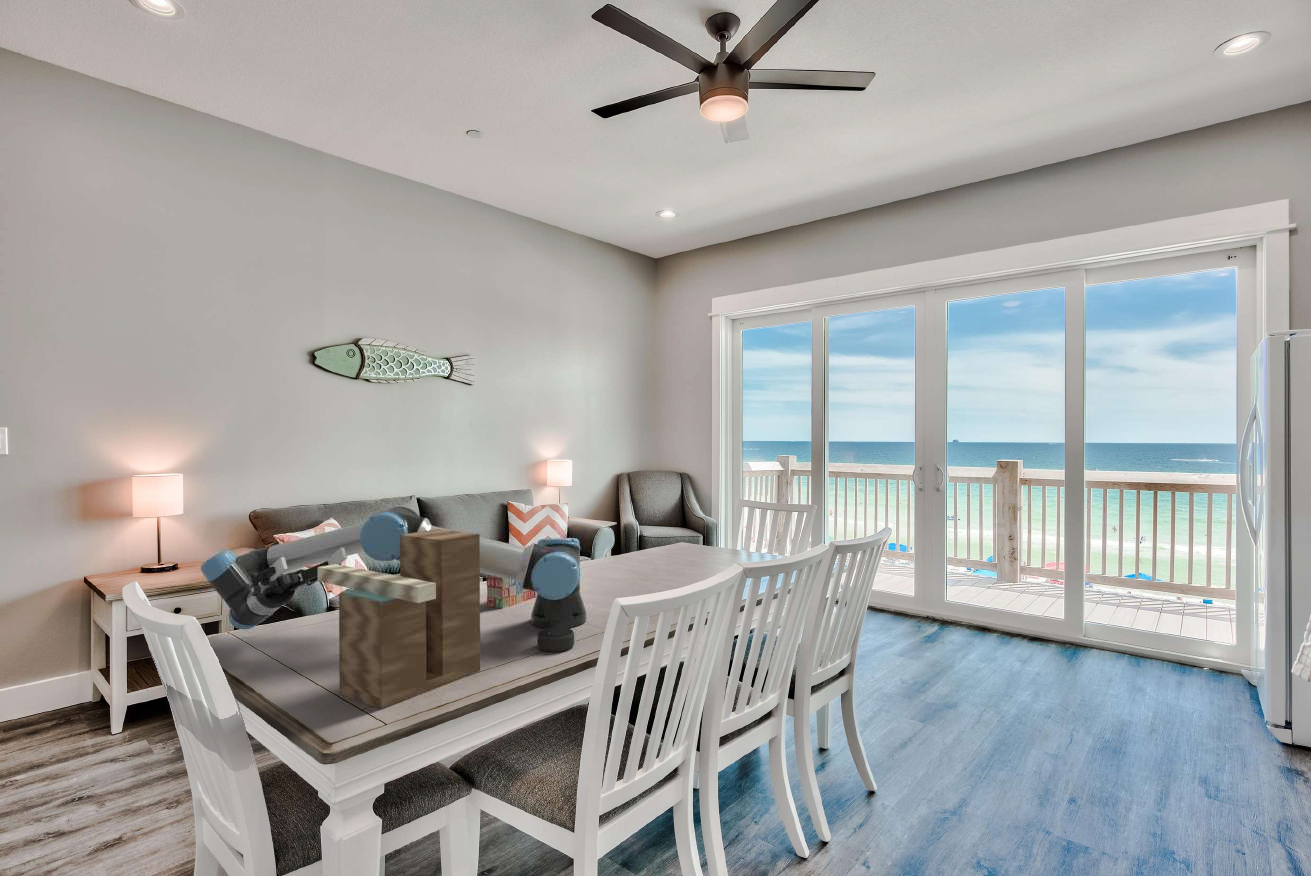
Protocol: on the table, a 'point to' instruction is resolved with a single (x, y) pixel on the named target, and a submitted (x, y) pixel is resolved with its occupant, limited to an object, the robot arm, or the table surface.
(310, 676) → the table surface
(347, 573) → the birch bar
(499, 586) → the stack of blocks
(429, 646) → the oak stand
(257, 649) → the table surface
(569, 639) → the smart speaker
